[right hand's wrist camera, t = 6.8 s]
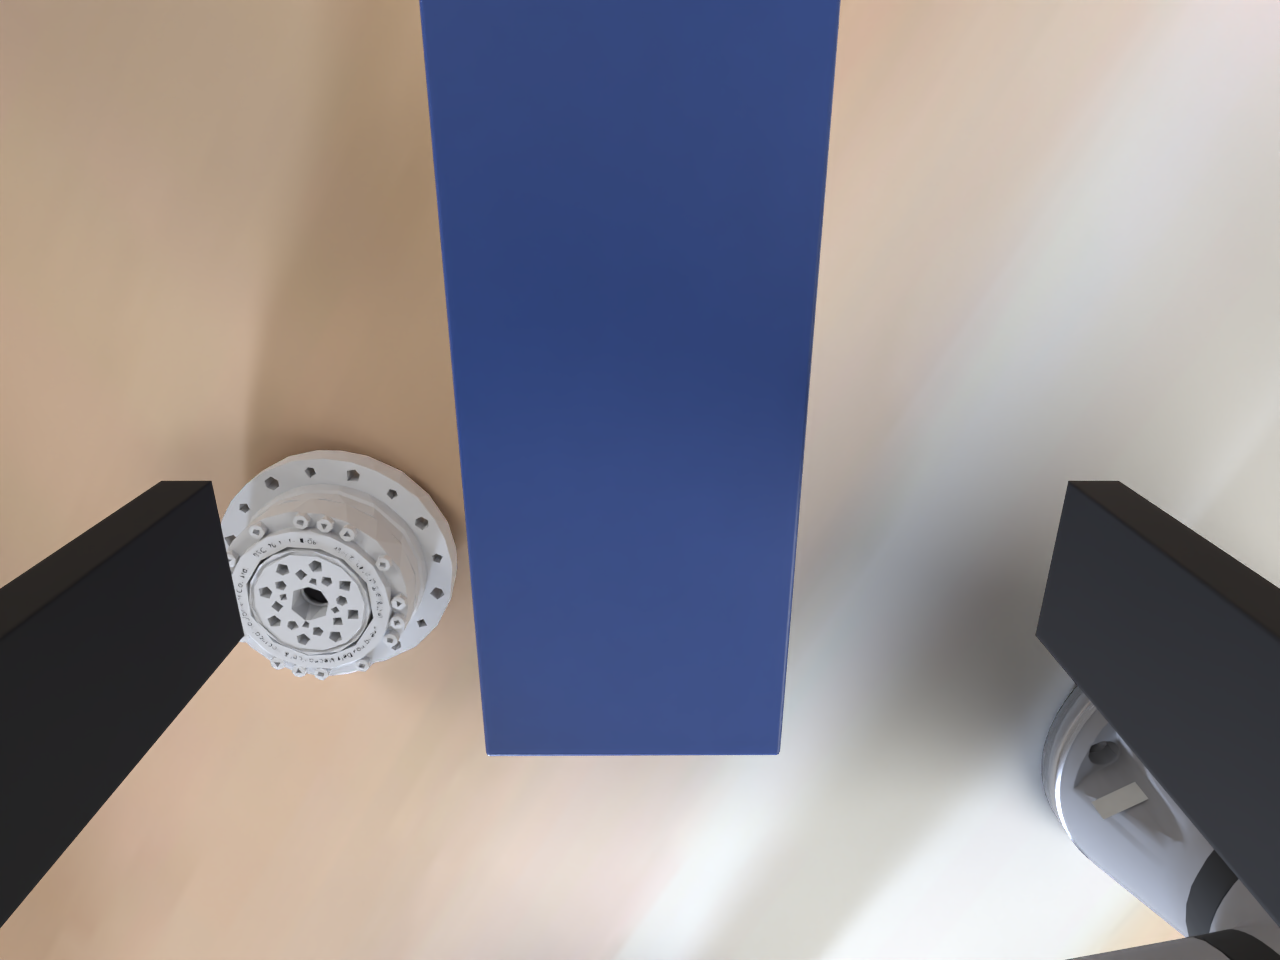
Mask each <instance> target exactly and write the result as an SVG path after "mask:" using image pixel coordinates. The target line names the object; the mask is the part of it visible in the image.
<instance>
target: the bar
mask: <svg viewBox="0 0 1280 960" xmlns="http://www.w3.org/2000/svg"><path fill="white" fill-rule="evenodd" d="M840 1H841V0H419V3H420V15H421V26H422V37H423V48H424V59H425V71H426V82H427V93H428V104H429V116H430V127H431V138H432V149H433V161H434V172H435V183H436V194H437V205H438V217H439V228H440V239H441V250H442V262H443V273H444V284H445V295H446V306H447V318H448V329H449V340H450V351H451V363H452V374H453V385H454V396H455V408H456V419H457V430H458V441H459V452H460V464H461V475H462V486H463V497H464V509H465V520H466V531H467V542H468V554H469V565H470V576H471V587H472V598H473V610H474V621H475V632H476V643H477V655H478V666H479V677H480V688H481V700H482V711H483V722H484V733H485V744H486V753H487V755H489V756H599V755H777V754H779V752H780V744H781V732H782V720H783V707H784V695H785V682H786V670H787V658H788V645H789V633H790V620H791V608H792V596H793V583H794V571H795V559H796V546H797V534H798V521H799V509H800V497H801V484H802V472H803V459H804V447H805V435H806V422H807V410H808V397H809V385H810V373H811V360H812V348H813V336H814V323H815V311H816V298H817V286H818V274H819V261H820V249H821V236H822V224H823V212H824V199H825V187H826V175H827V162H828V150H829V137H830V125H831V113H832V100H833V88H834V75H835V63H836V51H837V38H838V26H839V13H840Z"/></svg>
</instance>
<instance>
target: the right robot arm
mask: <svg viewBox="0 0 1280 960" xmlns="http://www.w3.org/2000/svg"><path fill="white" fill-rule="evenodd" d="M243 636H244V631H243V626H242V622H241V617H240V612H239V608H238V603H237V598H236V594H235V589H234V584H233V580H232V575H231V570H230V566H229V561H228V556H227V551H226V547H225V542H224V537H223V533H222V528H221V523H220V519H219V514H218V509H217V505H216V500H215V495H214V491H213V486H212V481H161V482H159V483H158V484H156V485H155V486H153V487H152V488H150V489H149V490H147V491H146V492H144V493H143V494H141V495H140V496H138V497H137V498H135V499H134V500H132V501H131V502H129V503H128V504H126V505H125V506H123V507H122V508H120V509H119V510H117V511H116V512H114V513H113V514H111V515H110V516H108V517H107V518H105V519H104V520H102V521H101V522H99V523H98V524H96V525H95V526H93V527H92V528H90V529H89V530H87V531H86V532H84V533H83V534H81V535H80V536H78V537H77V538H75V539H74V540H72V541H71V542H69V543H68V544H66V545H65V546H63V547H62V548H60V549H59V550H57V551H56V552H54V553H53V554H51V555H50V556H48V557H47V558H46V559H44V560H43V561H41V562H40V563H38V564H37V565H35V566H34V567H32V568H31V569H29V570H28V571H26V572H25V573H23V574H22V575H20V576H19V577H17V578H16V579H14V580H13V581H11V582H10V583H8V584H7V585H5V586H4V587H2V588H1V589H0V928H1V927H2V925H3V924H4V923H5V922H6V921H7V919H8V918H9V917H10V916H11V915H12V913H13V912H14V911H15V910H16V909H17V907H18V906H19V905H20V904H21V903H22V901H23V900H24V899H25V898H26V897H27V895H28V894H29V893H30V892H31V891H32V889H33V888H34V887H35V886H36V885H37V883H38V882H39V881H40V880H41V879H42V877H43V876H44V875H45V874H46V873H47V871H48V870H49V869H50V868H51V867H52V865H53V864H54V863H55V862H56V861H57V859H58V858H59V857H60V856H61V855H62V853H63V852H64V851H65V850H66V849H67V847H68V846H69V845H70V844H71V843H72V841H73V840H74V839H75V838H76V837H77V835H78V834H79V833H80V832H81V831H82V829H83V828H84V827H85V826H86V825H87V823H88V822H89V821H90V820H91V819H92V817H93V816H94V815H95V814H96V813H97V811H98V810H99V809H100V808H101V807H102V805H103V804H104V803H105V802H106V801H107V799H108V798H109V797H110V796H111V795H112V793H113V792H114V791H115V790H116V789H117V787H118V786H119V785H120V784H121V783H122V781H123V780H124V779H125V778H126V777H127V775H128V774H129V773H130V772H131V771H132V769H133V768H134V767H135V766H136V765H137V763H138V762H139V761H140V760H141V759H142V757H143V756H144V755H145V754H146V753H147V751H148V750H149V749H150V748H151V747H152V745H153V744H154V743H155V742H156V741H157V739H158V738H159V737H160V736H161V735H162V733H163V732H164V731H165V730H166V729H167V727H168V726H169V725H170V724H171V723H172V721H173V720H174V719H175V718H176V717H177V715H178V714H179V713H180V712H181V711H182V709H183V708H184V707H185V706H186V705H187V703H188V702H189V701H190V700H191V699H192V697H193V696H194V695H195V694H196V693H197V691H198V690H199V689H200V688H201V687H202V686H203V684H204V683H205V682H206V681H207V680H208V678H209V677H210V676H211V675H212V674H213V672H214V671H215V670H216V669H217V668H218V666H219V665H220V664H221V663H222V662H223V660H224V659H225V658H226V657H227V656H228V654H229V653H230V652H231V651H232V650H233V648H234V647H235V646H236V645H237V644H238V642H239V641H240V640H241V639H242V638H243ZM1036 636H1037V638H1038V639H1039V640H1040V641H1041V642H1042V644H1043V645H1044V646H1045V647H1046V648H1047V650H1048V651H1049V652H1050V653H1051V654H1052V656H1053V657H1054V658H1055V659H1056V660H1057V662H1058V663H1059V664H1060V665H1061V666H1062V668H1063V669H1064V670H1065V671H1066V672H1067V674H1068V675H1069V676H1070V677H1071V678H1072V680H1073V681H1074V682H1075V683H1076V684H1077V686H1078V687H1079V688H1080V689H1081V690H1082V691H1083V693H1084V694H1085V695H1086V696H1087V697H1088V699H1089V700H1090V701H1091V702H1092V703H1093V705H1094V706H1095V707H1096V708H1097V709H1098V711H1099V712H1100V713H1101V714H1102V715H1103V717H1104V718H1105V719H1106V720H1107V721H1108V723H1109V724H1110V725H1111V726H1112V727H1113V729H1114V730H1115V731H1116V732H1117V733H1118V735H1119V736H1120V737H1121V738H1122V739H1123V741H1124V742H1125V743H1126V744H1127V745H1128V747H1129V748H1130V749H1131V750H1132V751H1133V753H1134V754H1135V755H1136V756H1137V757H1138V759H1139V760H1140V761H1141V762H1142V763H1143V765H1144V766H1145V767H1146V768H1147V769H1148V771H1149V772H1150V773H1151V774H1152V775H1153V777H1154V778H1155V779H1156V780H1157V781H1158V783H1159V784H1160V785H1161V786H1162V787H1163V789H1164V790H1165V791H1166V792H1167V793H1168V795H1169V796H1170V797H1171V798H1172V799H1173V801H1174V802H1175V803H1176V804H1177V805H1178V807H1179V808H1180V809H1181V810H1182V811H1183V813H1184V814H1185V815H1186V816H1187V817H1188V819H1189V820H1190V821H1191V822H1192V823H1193V825H1194V826H1195V827H1196V828H1197V829H1198V831H1199V832H1200V833H1201V834H1202V835H1203V837H1204V838H1205V839H1206V840H1207V841H1208V843H1209V844H1210V845H1211V846H1212V847H1213V849H1214V850H1215V851H1216V852H1217V853H1218V855H1219V856H1220V857H1221V858H1222V859H1223V861H1224V862H1225V863H1226V864H1227V865H1228V867H1229V868H1230V869H1231V870H1232V871H1233V873H1234V874H1235V875H1236V876H1237V877H1238V879H1239V880H1240V881H1241V882H1242V883H1243V885H1244V886H1245V887H1246V888H1247V889H1248V891H1249V892H1250V893H1251V894H1252V895H1253V897H1254V898H1255V899H1256V900H1257V901H1258V903H1259V904H1260V905H1261V906H1262V907H1263V909H1264V910H1265V911H1266V912H1267V913H1268V915H1269V916H1270V917H1271V918H1272V919H1273V921H1274V922H1275V923H1276V924H1277V925H1278V927H1279V928H1280V589H1279V588H1278V587H1276V586H1275V585H1273V584H1272V583H1270V582H1269V581H1267V580H1266V579H1264V578H1263V577H1261V576H1260V575H1258V574H1257V573H1255V572H1254V571H1252V570H1251V569H1249V568H1248V567H1246V566H1245V565H1243V564H1242V563H1240V562H1239V561H1237V560H1236V559H1234V558H1233V557H1232V556H1230V555H1229V554H1227V553H1226V552H1224V551H1223V550H1221V549H1220V548H1218V547H1217V546H1215V545H1214V544H1212V543H1211V542H1209V541H1208V540H1206V539H1205V538H1203V537H1202V536H1200V535H1199V534H1197V533H1196V532H1194V531H1193V530H1191V529H1190V528H1188V527H1187V526H1185V525H1184V524H1182V523H1181V522H1179V521H1178V520H1176V519H1175V518H1173V517H1172V516H1170V515H1169V514H1167V513H1166V512H1164V511H1163V510H1161V509H1160V508H1158V507H1157V506H1155V505H1154V504H1152V503H1151V502H1149V501H1148V500H1146V499H1145V498H1143V497H1142V496H1140V495H1139V494H1137V493H1136V492H1134V491H1133V490H1131V489H1130V488H1128V487H1127V486H1125V485H1124V484H1122V483H1121V482H1119V481H1068V486H1067V491H1066V495H1065V500H1064V505H1063V509H1062V514H1061V519H1060V523H1059V528H1058V533H1057V537H1056V542H1055V547H1054V551H1053V556H1052V561H1051V566H1050V570H1049V575H1048V580H1047V584H1046V589H1045V594H1044V598H1043V603H1042V608H1041V612H1040V617H1039V622H1038V626H1037V631H1036Z"/></svg>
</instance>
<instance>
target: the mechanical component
mask: <svg viewBox="0 0 1280 960" xmlns="http://www.w3.org/2000/svg"><path fill="white" fill-rule="evenodd" d="M221 528H222V533H223V537H224V542H225V547H226V551H227V556H228V561H229V566H230V570H231V575H232V580H233V584H234V589H235V594H236V598H237V603H238V608H239V612H240V617H241V622H242V626H243V631H244V636H243V638H242V639H241V640H240V641H239V642H247V643H248V645H249V646H250V647H252V648H253V649H255V650H256V651H257V652H259V653H260V654H262V655H263V656H265V657H266V658H267V659H269V660H270V662H271V666H272V667H273V668H275V669H283V668H284V667H286V668H288V669H291V670H292V672H293V674H294V675H295V676H298V677H302V676H304V675H306V673H308V674H313V675H315V677H316V678H318V679H319V680H324V679H326V678H327V677H328V676H329V675H340V674H348V673H352V672H356V671H366V670H367V669H369V667H370V666H371V665H372V664H373V663H375V662H380V661H385V660H387V659H390V658H392V657H394V656H396V655H398V654H400V653H403V652H405V651H407V650H409V649H411V648H413V647H416V646H417V645H418V644H419V643H420V642H421V641H422V640H423V639H424V638H425V637H426V636H427V635H428V634H429V633H430V632H431V631H432V630H433V629H434V628H435V627H436V626H437V625H438V623H439V621H440V619H441V617H442V615H443V613H444V611H445V609H446V607H447V605H448V603H449V601H450V599H451V597H452V592H453V587H454V582H455V577H456V572H457V551H456V546H455V543H454V539H453V536H452V533H451V530H450V527H449V524H448V521H447V520H446V518H445V517H444V516H443V514H442V513H441V511H440V510H439V508H438V507H437V505H436V504H435V503H434V501H433V500H432V498H431V497H430V495H429V494H428V493H427V492H426V491H424V490H423V489H422V488H421V487H420V486H419V485H418V484H416V483H415V482H414V481H413V480H412V479H411V478H410V477H408V476H407V475H406V474H405V473H404V472H403V471H401V470H398V469H396V468H394V467H392V466H390V465H387V464H385V463H383V462H381V461H378V460H376V459H374V458H372V457H369V456H366V455H361V454H356V453H352V452H347V451H342V450H316V451H311V452H306V453H301V454H297V455H292V456H288V457H286V458H285V459H283V460H281V461H279V462H277V463H275V464H274V465H272V466H270V467H268V468H266V469H265V470H263V471H261V472H260V473H259V474H258V475H256V476H255V477H254V478H253V479H252V480H251V481H249V482H248V483H247V484H246V485H245V486H244V487H243V488H242V489H241V491H240V492H239V493H238V494H237V495H236V496H235V497H234V498H233V500H232V501H231V503H230V505H229V507H228V509H227V511H226V513H225V515H224V517H223V519H222V522H221Z"/></svg>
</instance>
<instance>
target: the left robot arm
mask: <svg viewBox="0 0 1280 960" xmlns="http://www.w3.org/2000/svg"><path fill="white" fill-rule="evenodd" d="M1042 780H1043V786H1044V790H1045V794H1046V797H1047V799H1048V802H1049V804H1050V806H1051V808H1052V810H1053V811H1054V813H1055V815H1056V816H1057V818H1058V820H1059V821H1060V823H1061V824H1062V826H1063V827H1064V829H1065V830H1066V832H1067V834H1068V835H1069V837H1070V838H1071V840H1072V841H1073V843H1074V844H1075V845H1076V846H1077V848H1078V849H1079V850H1080V851H1081V852H1082V853H1083V854H1084V855H1085V856H1086V857H1087V858H1088V859H1090V860H1091V861H1092V862H1093V863H1094V864H1095V865H1097V866H1098V867H1099V868H1100V869H1102V870H1103V871H1104V872H1105V873H1107V874H1108V875H1109V876H1110V877H1112V878H1113V879H1114V880H1115V881H1116V882H1118V883H1119V884H1120V885H1121V886H1123V887H1124V888H1125V889H1126V890H1128V891H1129V892H1130V893H1131V894H1133V895H1134V896H1135V897H1136V898H1138V899H1139V900H1140V901H1141V902H1143V903H1144V904H1145V905H1146V906H1147V907H1149V908H1150V909H1151V910H1152V911H1154V912H1155V913H1156V914H1157V915H1159V916H1160V917H1161V918H1162V919H1164V920H1165V921H1166V922H1167V923H1169V924H1170V925H1171V926H1172V927H1173V928H1175V929H1176V930H1177V931H1178V932H1180V933H1181V934H1182V935H1183V936H1185V937H1186V938H1182V939H1177V940H1171V941H1166V942H1160V943H1155V944H1149V945H1144V946H1138V947H1133V948H1127V949H1122V950H1116V951H1111V952H1105V953H1100V954H1094V955H1089V956H1084V957H1078V958H1073V959H1067V960H1280V928H1279V927H1278V925H1277V924H1276V923H1275V922H1274V921H1273V919H1272V918H1271V917H1270V916H1269V915H1268V913H1267V912H1266V911H1265V910H1264V909H1263V907H1262V906H1261V905H1260V904H1259V903H1258V901H1257V900H1256V899H1255V898H1254V897H1253V895H1252V894H1251V893H1250V892H1249V891H1248V889H1247V888H1246V887H1245V886H1244V885H1243V883H1242V882H1241V881H1240V880H1239V879H1238V877H1237V876H1236V875H1235V874H1234V873H1233V871H1232V870H1231V869H1230V868H1229V867H1228V865H1227V864H1226V863H1225V862H1224V861H1223V859H1222V858H1221V857H1220V856H1219V855H1218V853H1217V852H1216V851H1215V850H1214V849H1213V847H1212V846H1211V845H1210V844H1209V843H1208V841H1207V840H1206V839H1205V838H1204V837H1203V835H1202V834H1201V833H1200V832H1199V831H1198V829H1197V828H1196V827H1195V826H1194V825H1193V823H1192V822H1191V821H1190V820H1189V819H1188V817H1187V816H1186V815H1185V814H1184V813H1183V811H1182V810H1181V809H1180V808H1179V807H1178V805H1177V804H1176V803H1175V802H1174V801H1173V799H1172V798H1171V797H1170V796H1169V795H1168V793H1167V792H1166V791H1165V790H1164V789H1163V787H1162V786H1161V785H1160V784H1159V783H1158V781H1157V780H1156V779H1155V778H1154V777H1153V775H1152V774H1151V773H1150V772H1149V771H1148V769H1147V768H1146V767H1145V766H1144V765H1143V763H1142V762H1141V761H1140V760H1139V759H1138V757H1137V756H1136V755H1135V754H1134V753H1133V751H1132V750H1131V749H1130V748H1129V747H1128V745H1127V744H1126V743H1125V742H1124V741H1123V739H1122V738H1121V737H1120V736H1119V735H1118V733H1117V732H1116V731H1115V730H1114V729H1113V727H1112V726H1111V725H1110V724H1109V723H1108V721H1107V720H1106V719H1105V718H1104V717H1103V715H1102V714H1101V713H1100V712H1099V711H1098V709H1097V708H1096V707H1095V706H1094V705H1093V703H1092V702H1091V701H1090V700H1089V699H1088V697H1087V696H1086V695H1085V694H1084V693H1083V691H1082V690H1081V689H1080V688H1079V687H1078V686H1077V687H1076V688H1075V689H1074V690H1073V691H1072V693H1071V694H1070V695H1069V697H1068V698H1067V699H1066V701H1065V702H1064V704H1063V705H1062V707H1061V708H1060V710H1059V712H1058V713H1057V715H1056V717H1055V719H1054V721H1053V723H1052V725H1051V727H1050V730H1049V733H1048V735H1047V738H1046V742H1045V746H1044V750H1043V757H1042Z"/></svg>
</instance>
